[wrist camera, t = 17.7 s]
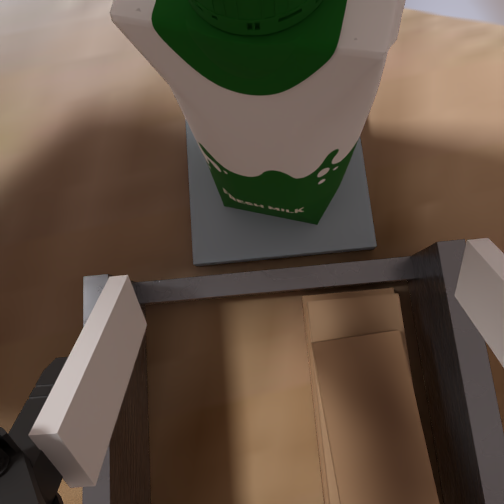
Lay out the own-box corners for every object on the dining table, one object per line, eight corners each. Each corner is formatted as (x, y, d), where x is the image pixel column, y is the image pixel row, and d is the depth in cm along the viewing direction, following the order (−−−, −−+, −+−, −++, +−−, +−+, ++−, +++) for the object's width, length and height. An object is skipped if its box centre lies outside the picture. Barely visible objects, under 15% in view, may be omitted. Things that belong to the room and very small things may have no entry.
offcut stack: (329, 550, 24) (340, 605, 19) (301, 297, 27) (305, 291, 22) (426, 545, 24) (461, 600, 19) (386, 289, 27) (408, 282, 22)
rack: (130, 594, 24) (81, 679, 19) (125, 286, 28) (83, 276, 23) (482, 580, 23) (550, 668, 17) (425, 258, 27) (464, 239, 21)
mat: (196, 266, 28) (193, 264, 27) (187, 108, 31) (184, 101, 30) (373, 249, 27) (376, 246, 26) (349, 88, 30) (351, 80, 29)
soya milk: (209, 215, 28) (29, -43, 8) (237, 105, 29) (143, -335, 10) (328, 240, 27) (446, 8, 7) (351, 124, 28) (502, -330, 9)
